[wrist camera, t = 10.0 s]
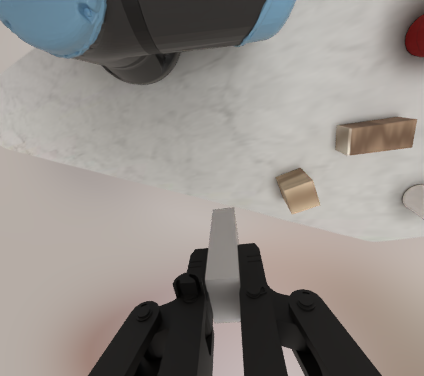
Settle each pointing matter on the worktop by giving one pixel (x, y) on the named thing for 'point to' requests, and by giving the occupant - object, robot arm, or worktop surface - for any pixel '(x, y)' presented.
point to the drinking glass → (415, 199)
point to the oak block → (298, 190)
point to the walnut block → (375, 135)
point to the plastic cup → (416, 38)
